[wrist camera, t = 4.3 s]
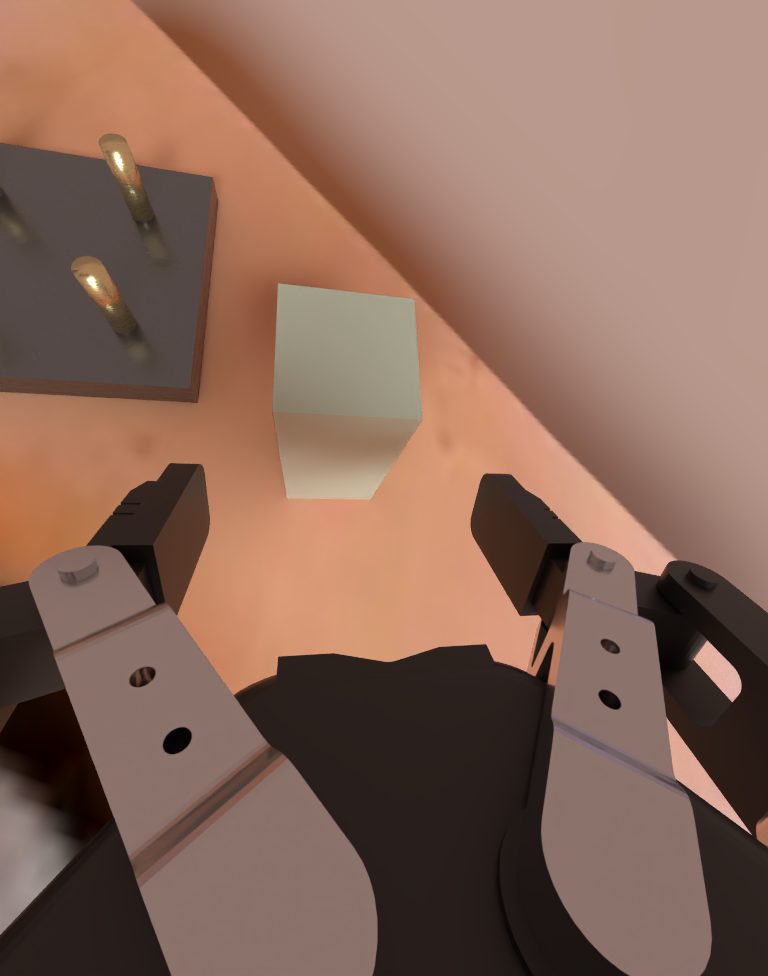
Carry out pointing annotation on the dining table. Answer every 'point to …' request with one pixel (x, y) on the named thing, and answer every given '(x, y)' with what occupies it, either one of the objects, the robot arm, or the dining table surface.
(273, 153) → the dining table surface
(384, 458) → the block
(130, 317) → the grey gold peg board
